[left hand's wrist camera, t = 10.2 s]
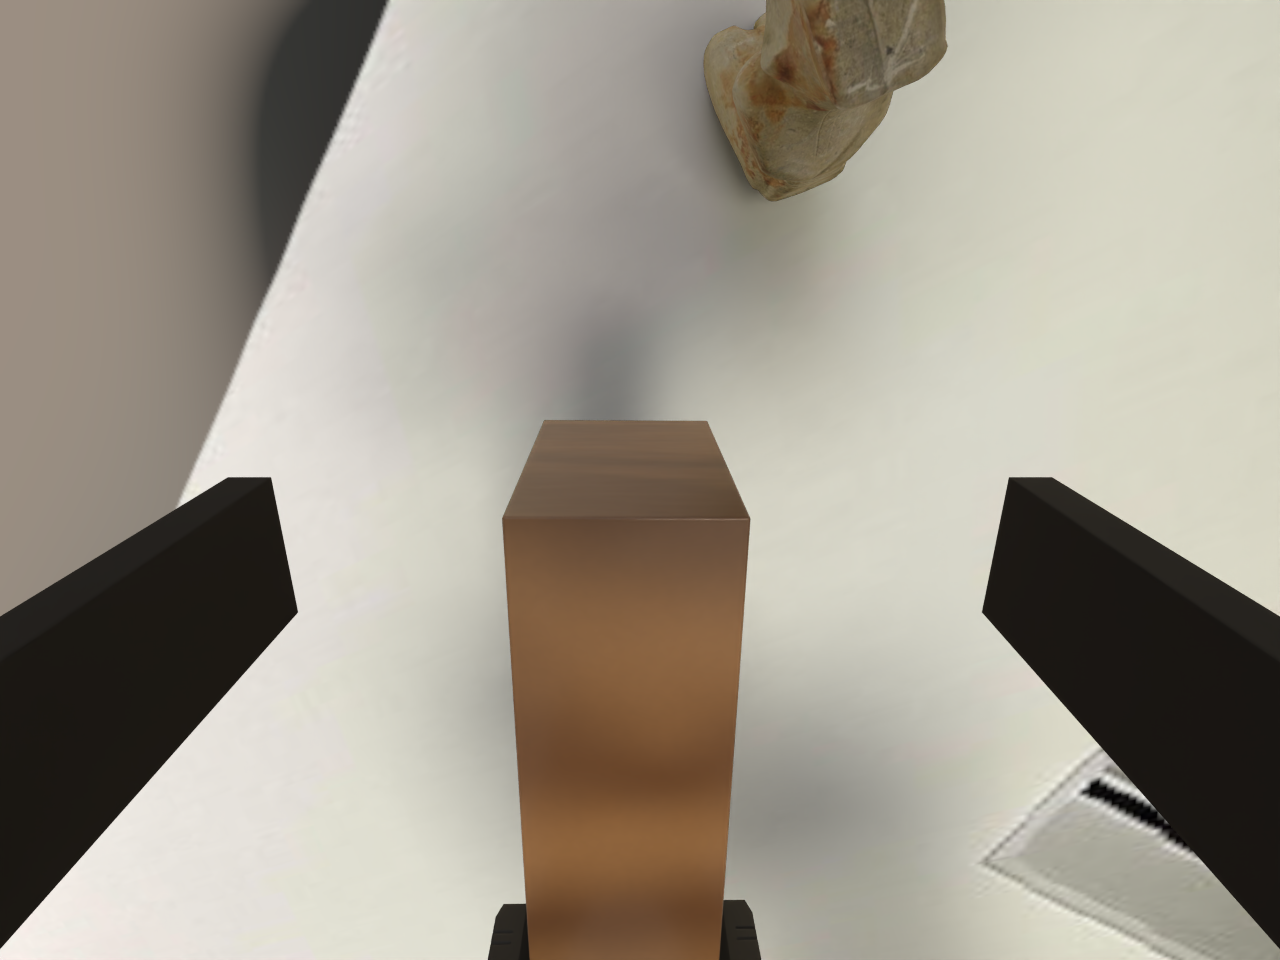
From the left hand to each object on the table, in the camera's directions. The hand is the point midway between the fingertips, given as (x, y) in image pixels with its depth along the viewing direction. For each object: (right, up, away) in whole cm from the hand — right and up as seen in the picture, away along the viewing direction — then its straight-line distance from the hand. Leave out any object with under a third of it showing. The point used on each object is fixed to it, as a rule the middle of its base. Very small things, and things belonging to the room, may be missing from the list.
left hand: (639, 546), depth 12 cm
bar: (-1, -7, +15) cm, 16 cm away
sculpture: (+6, +18, +19) cm, 27 cm away
